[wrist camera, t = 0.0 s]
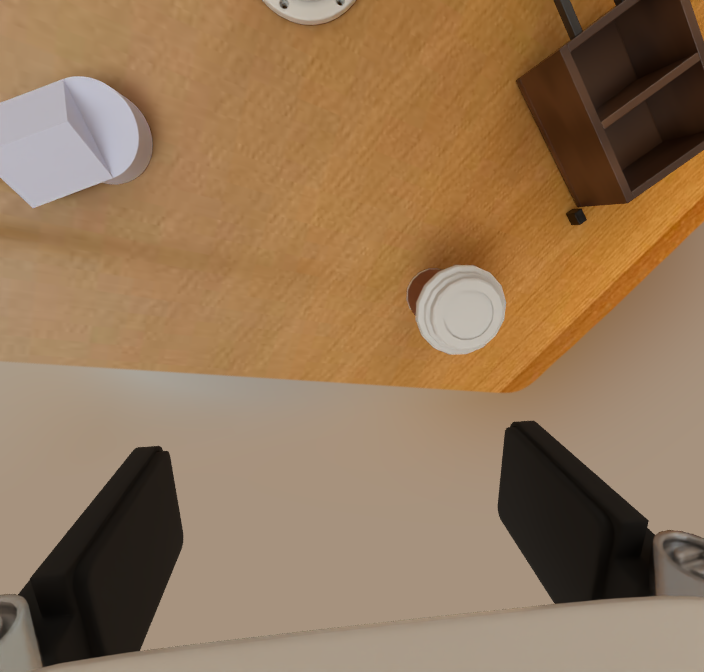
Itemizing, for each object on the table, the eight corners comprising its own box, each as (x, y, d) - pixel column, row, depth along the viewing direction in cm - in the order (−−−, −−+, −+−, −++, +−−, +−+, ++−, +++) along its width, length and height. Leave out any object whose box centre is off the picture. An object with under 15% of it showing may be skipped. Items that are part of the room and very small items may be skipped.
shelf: (491, 32, 41) (532, -12, 33) (590, -44, 40) (654, -107, 32) (577, 207, 46) (627, 203, 39) (664, 145, 45) (733, 129, 38)
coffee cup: (401, 336, 49) (428, 369, 38) (390, 265, 46) (415, 277, 35) (470, 321, 49) (518, 350, 38) (463, 250, 47) (511, 257, 35)
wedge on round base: (54, 209, 41) (167, 167, 41) (7, 206, 35) (141, 155, 35) (5, 121, 39) (125, 75, 39) (-57, 100, 32) (88, 45, 32)
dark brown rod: (565, 213, 47) (574, 213, 45) (671, 139, 46) (683, 136, 44) (571, 225, 47) (580, 225, 46) (675, 151, 46) (688, 148, 45)
